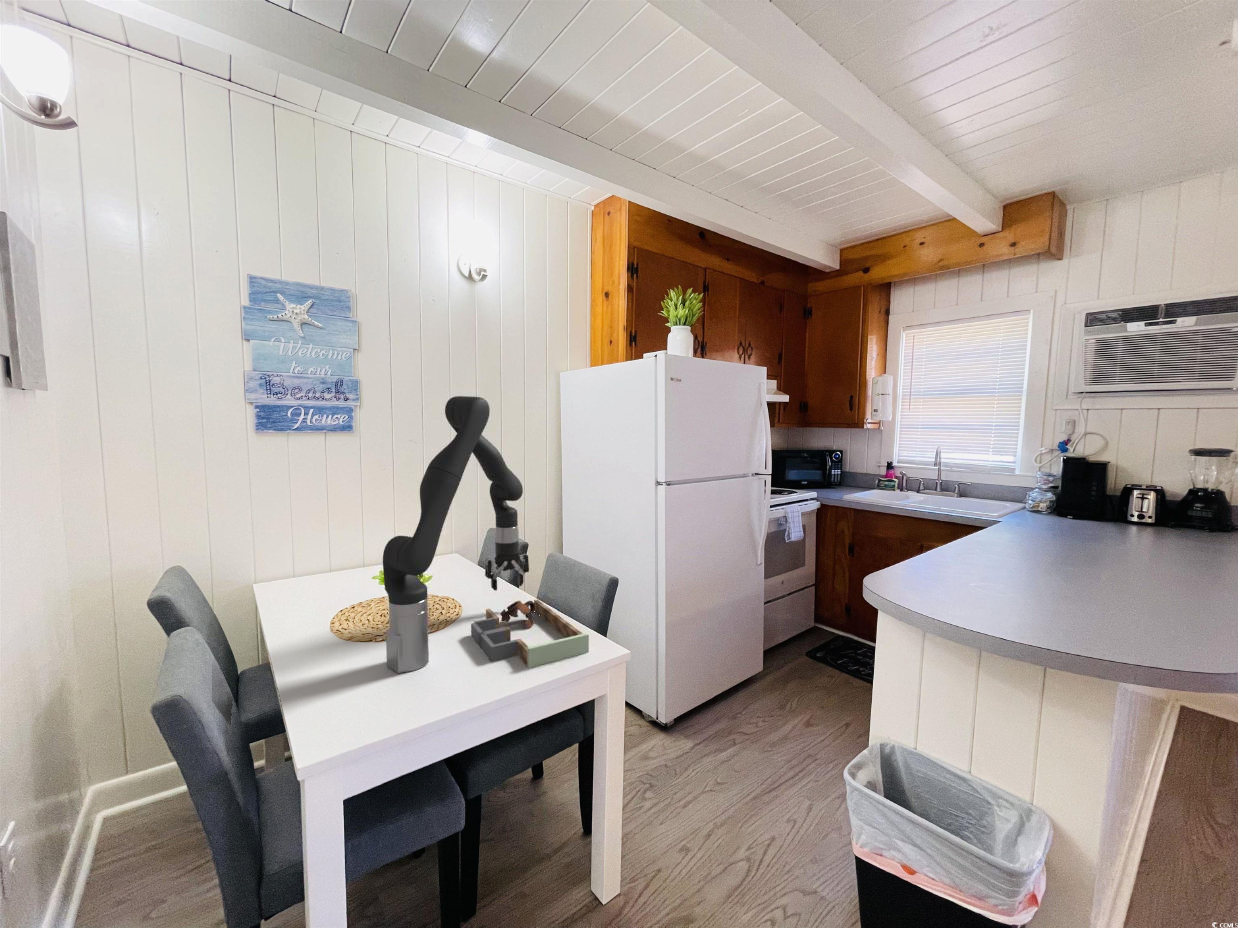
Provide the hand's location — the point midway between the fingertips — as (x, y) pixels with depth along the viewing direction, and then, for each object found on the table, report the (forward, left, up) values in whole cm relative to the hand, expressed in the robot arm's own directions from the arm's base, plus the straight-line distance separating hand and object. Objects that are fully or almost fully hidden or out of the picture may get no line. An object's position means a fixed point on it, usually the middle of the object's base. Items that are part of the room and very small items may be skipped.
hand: (507, 587), depth 168 cm
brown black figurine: (-4, -11, -8) cm, 15 cm away
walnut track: (-7, -21, -8) cm, 23 cm away
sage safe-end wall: (-12, -37, -8) cm, 40 cm away
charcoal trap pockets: (-19, -17, -8) cm, 27 cm away
